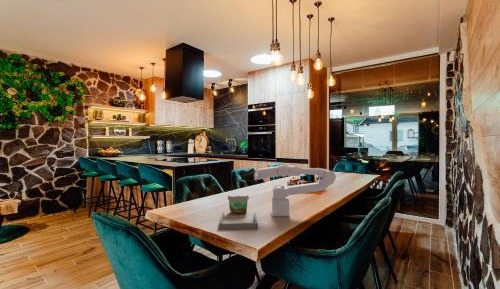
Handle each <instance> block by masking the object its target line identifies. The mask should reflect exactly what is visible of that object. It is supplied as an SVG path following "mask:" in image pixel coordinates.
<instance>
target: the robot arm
mask: <svg viewBox="0 0 500 289" xmlns="http://www.w3.org/2000/svg"><path fill="white" fill-rule="evenodd" d="M302 175H311V176H313V175H314V176H317V177H319V178H318V179H317V181H316V182H311V183H310V182H309V183H301V184H296V185H295V184H294V185H281V184H276V185H274V186H273V188H272V195H273V196H272V197H271V210H270V214H271V216H272V217H290V199H289V198H288V197H289V196H294V195H302V194H310V193H317V192H318V193H319V192H323V191H325V190H326V189H327V188H328V187H330V186H331V185H333V184H335V181H336V180H337V179H336V178H337V175H336V173H335V172H334V171H331V170H330V169H327V168H322V167H321V168H320V167H315V168H314V167H313V168H312V167H307V168H306V167H305V168H304V167H301V166H300V165H298V164H294V165H288V164H286V165H284V164H280V165H278V166H270V167H268V166H267V167H262V168H258V167H257V166H256V167H255V168H254V167H252V168H251V169H249V170H247V171H244V172H241V176H240V179H241V181H247V182H251V183H255V180H257V181H258V180H262V179H263V180H264V179H269V178H275V177H283V178H285V177H286V176H288V177H300V176H302Z"/></svg>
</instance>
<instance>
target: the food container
mask: <svg viewBox="0 0 500 289" xmlns="http://www.w3.org/2000/svg"><path fill="white" fill-rule="evenodd" d="M249 199H250V196H249V194H247V195H235V196H230V195H228V196H227V200H228V205H229V213H230V214H231V215H234V214H235V216H236V215H238V216H240V215H241V214H242V215H245V214H246V213H247V211H248V210H247V208H248V201H249Z"/></svg>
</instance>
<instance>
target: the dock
mask: <svg viewBox="0 0 500 289" xmlns="http://www.w3.org/2000/svg"><path fill="white" fill-rule="evenodd" d="M224 220H225V213H224V212H222V213H221V215H220V218H219V224H218V227H219V230H253V229H254V230H255V229H256V230H257V229H259V228H258V227H259V225H258V224H259V223H258V218H257V213H256V212H253V221H254V222H224Z"/></svg>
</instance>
